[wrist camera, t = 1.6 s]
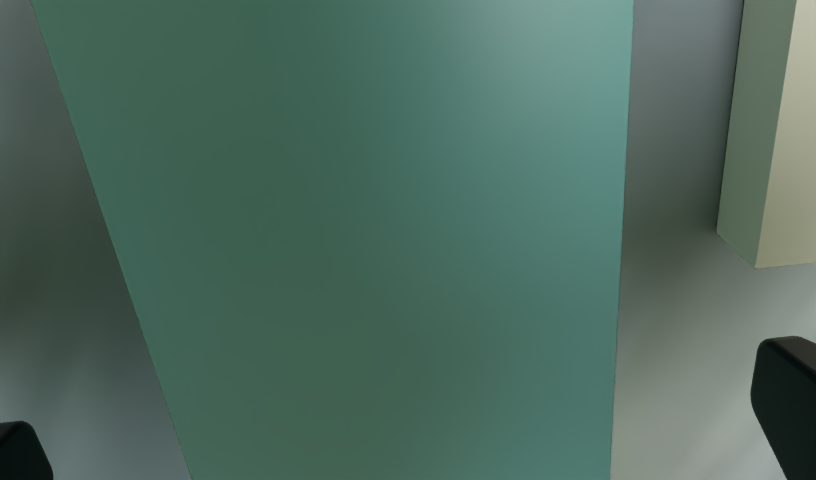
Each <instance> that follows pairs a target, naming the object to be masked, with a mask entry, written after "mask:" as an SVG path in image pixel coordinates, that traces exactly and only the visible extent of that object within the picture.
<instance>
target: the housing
mask: <svg viewBox="0 0 816 480" xmlns="http://www.w3.org/2000/svg"><path fill="white" fill-rule="evenodd" d="M30 1H31V4H32V7H33V10H34V13H35V16H36V19H37V22H38V25H39V28H40V31H41V34H42V37H43V40H44V42H45V45H46V48H47V51H48V54H49V57H50V60H51V63H52V66H53V69H54V72H55V75H56V78H57V81H58V84H59V87H60V90H61V93H62V96H63V99H64V102H65V105H66V108H67V111H68V114H69V116H70V119H71V122H72V125H73V128H74V131H75V134H76V137H77V140H78V143H79V146H80V149H81V152H82V155H83V158H84V161H85V164H86V167H87V170H88V173H89V176H90V179H91V182H92V185H93V188H94V191H95V193H96V196H97V199H98V202H99V205H100V208H101V211H102V214H103V217H104V220H105V223H106V226H107V229H108V232H109V235H110V238H111V241H112V244H113V247H114V250H115V253H116V256H117V259H118V262H119V265H120V267H121V270H122V273H123V276H124V279H125V282H126V285H127V288H128V291H129V294H130V297H131V300H132V303H133V306H134V309H135V312H136V315H137V318H138V321H139V324H140V327H141V330H142V333H143V336H144V339H145V342H146V344H147V347H148V350H149V353H150V356H151V359H152V362H153V365H154V368H155V371H156V374H157V377H158V380H159V383H160V386H161V389H162V392H163V395H164V398H165V401H166V404H167V407H168V410H169V413H170V416H171V418H172V421H173V424H174V427H175V430H176V433H177V436H178V439H179V442H180V445H181V448H182V451H183V454H184V457H185V460H186V463H187V466H188V469H189V472H190V475H191V478H192V480H610V463H611V444H612V424H613V404H614V384H615V365H616V345H617V325H618V305H619V286H620V266H621V246H622V226H623V207H624V187H625V167H626V147H627V128H628V108H629V88H630V68H631V49H632V29H633V9H634V0H30Z"/></svg>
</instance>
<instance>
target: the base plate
mask: <svg viewBox="0 0 816 480" xmlns="http://www.w3.org/2000/svg"><path fill="white" fill-rule="evenodd" d="M716 233H717V234H718V235H719V236H720V237H721V238H722V239H723V240H724V241H725V242H727V243H728V244H729V245H730V246H731V247H732V248H733V249H734V250H735V251H736V252H737V253H738V254H739V255H740V256H741V257H743V258H744V259H745V260H746V261H747V262H748V263H749V264H750V265H751V266H752V267H753V268H754V269H762V268H771V267H780V266H789V265H798V264H807V263H816V0H744V9H743V17H742V25H741V33H740V41H739V50H738V58H737V66H736V74H735V82H734V91H733V99H732V107H731V115H730V124H729V132H728V140H727V148H726V156H725V165H724V173H723V181H722V189H721V197H720V206H719V214H718V222H717V230H716Z"/></svg>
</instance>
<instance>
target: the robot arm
mask: <svg viewBox="0 0 816 480" xmlns="http://www.w3.org/2000/svg"><path fill="white" fill-rule="evenodd" d="M750 395H751V403H752V407H753V410H754V413H755V415H756V417H757V419H758V421H759V423H760V425H761V427H762V429H763V431H764V434H765V436H766V438H767V440H768V442H769V444H770V446H771V448H772V450H773V452H774V454H775V456H776V458H777V460H778V462H779V464H780V466H781V468H782V470H783V473H784V475H785V477H786V479H787V480H816V343H813V342H811V341H809V340H806V339H804V338H802V337H798V336H787V337H778V338H769V339H765V340H764V341H762V342H761V343H760V345H759V347H758V350H757V355H756V361H755V367H754V373H753V379H752V385H751V394H750ZM0 480H53V471H52V468H51V465H50V463H49V461H48V459H47V457H46V454H45V452H44V450H43V448H42V446H41V444H40V441H39V439H38V437H37V435H36V433H35V431H34V429H33V427H32V426H31V425H30V424H29V423H27V422H24V421H14V422H5V423H0Z"/></svg>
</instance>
